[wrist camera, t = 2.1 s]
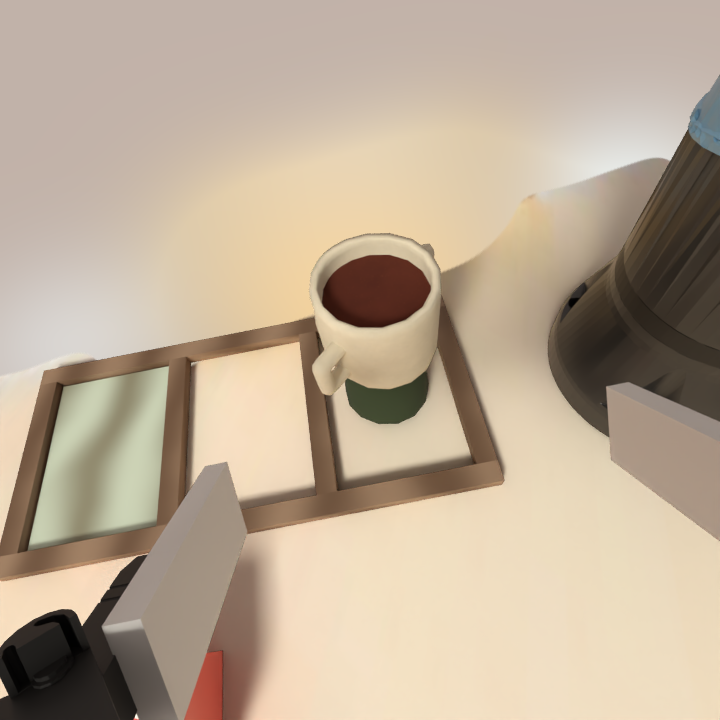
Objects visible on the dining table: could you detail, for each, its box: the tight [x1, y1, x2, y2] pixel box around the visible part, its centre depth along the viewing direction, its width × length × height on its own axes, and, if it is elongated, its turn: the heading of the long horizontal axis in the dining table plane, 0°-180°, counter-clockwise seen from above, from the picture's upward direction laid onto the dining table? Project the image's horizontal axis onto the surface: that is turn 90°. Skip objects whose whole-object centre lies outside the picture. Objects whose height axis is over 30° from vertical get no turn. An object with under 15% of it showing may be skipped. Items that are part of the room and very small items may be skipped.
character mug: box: [309, 233, 441, 424], centre depth 29 cm, size 11×7×13 cm, turn 142°
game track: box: [0, 295, 504, 581], centre depth 33 cm, size 34×16×1 cm, turn 99°
